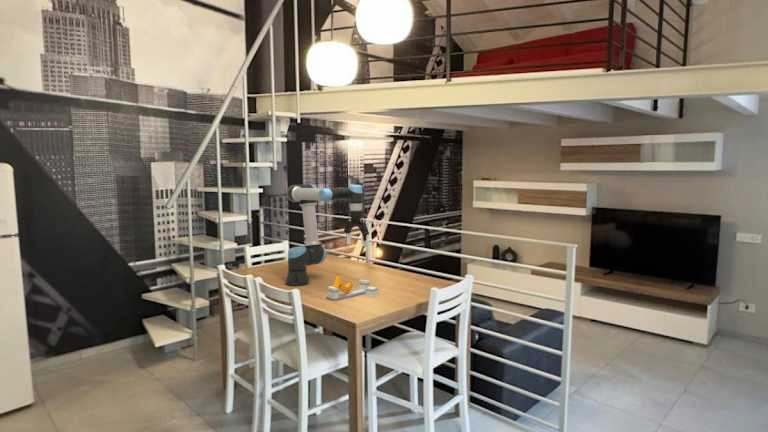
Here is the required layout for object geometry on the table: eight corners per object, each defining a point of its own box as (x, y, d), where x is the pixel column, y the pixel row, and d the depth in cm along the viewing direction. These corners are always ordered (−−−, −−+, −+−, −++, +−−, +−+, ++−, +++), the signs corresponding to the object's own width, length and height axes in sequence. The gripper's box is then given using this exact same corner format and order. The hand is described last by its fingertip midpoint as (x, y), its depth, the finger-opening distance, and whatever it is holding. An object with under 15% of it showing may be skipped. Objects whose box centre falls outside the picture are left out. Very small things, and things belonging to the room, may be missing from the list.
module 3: (365, 296, 292) (365, 288, 291) (370, 294, 296) (370, 286, 295) (372, 297, 289) (372, 289, 288) (377, 295, 293) (377, 287, 292)
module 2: (359, 289, 303) (359, 280, 303) (362, 288, 306) (362, 279, 305) (366, 291, 299) (366, 281, 299) (369, 290, 301) (369, 280, 301)
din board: (326, 298, 286) (326, 296, 286) (361, 290, 306) (361, 288, 306) (335, 301, 281) (335, 298, 281) (370, 292, 301) (370, 290, 301)
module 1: (327, 297, 286) (327, 286, 285) (331, 296, 288) (331, 286, 287) (334, 299, 281) (334, 288, 281) (338, 298, 284) (338, 287, 283)
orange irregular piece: (337, 287, 282) (342, 277, 284) (332, 286, 285) (337, 275, 287) (351, 294, 290) (355, 284, 292) (346, 293, 293) (350, 283, 295)
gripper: (338, 209, 305) (338, 243, 307) (365, 212, 287) (365, 248, 289) (347, 208, 310) (347, 242, 312) (374, 211, 293) (374, 246, 295)
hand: (356, 245), depth 301 cm, fingers open, 13 cm apart
